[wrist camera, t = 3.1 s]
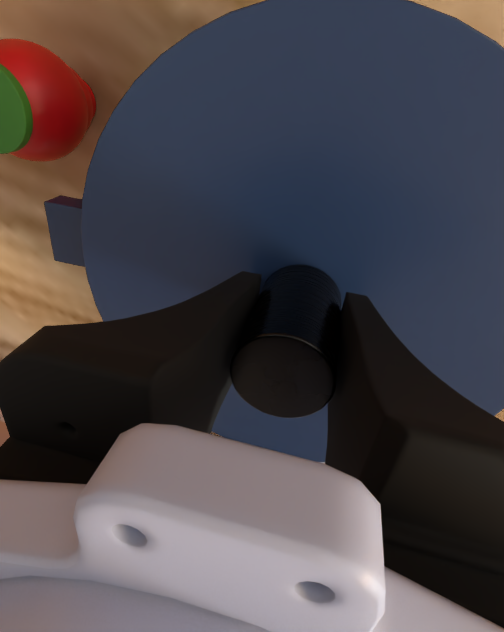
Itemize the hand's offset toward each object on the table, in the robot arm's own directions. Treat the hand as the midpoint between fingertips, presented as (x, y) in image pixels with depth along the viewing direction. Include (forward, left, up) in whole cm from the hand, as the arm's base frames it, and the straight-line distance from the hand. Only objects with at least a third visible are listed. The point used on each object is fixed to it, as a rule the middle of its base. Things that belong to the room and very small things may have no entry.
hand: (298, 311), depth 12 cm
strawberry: (+4, +12, -8) cm, 15 cm away
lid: (0, 0, -1) cm, 1 cm away
